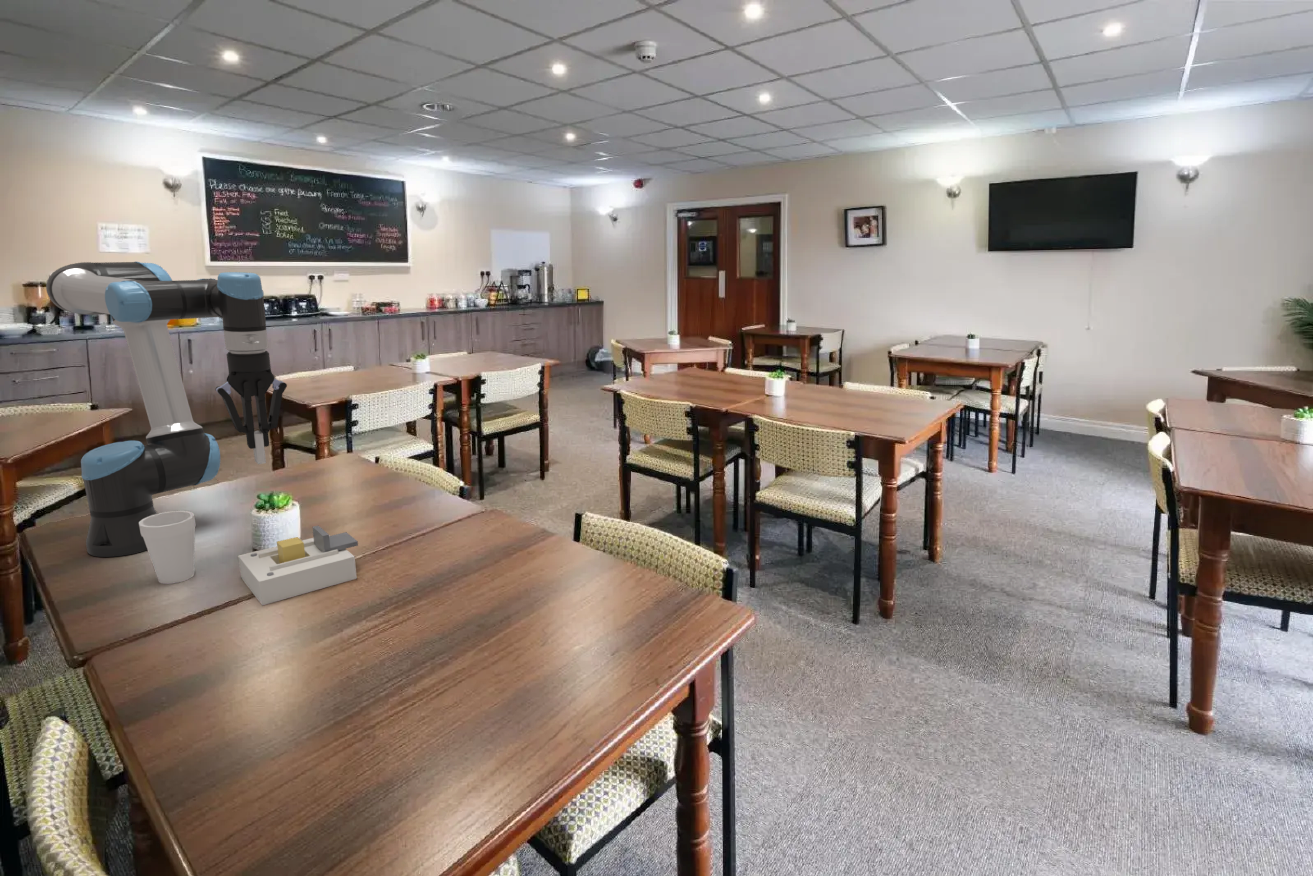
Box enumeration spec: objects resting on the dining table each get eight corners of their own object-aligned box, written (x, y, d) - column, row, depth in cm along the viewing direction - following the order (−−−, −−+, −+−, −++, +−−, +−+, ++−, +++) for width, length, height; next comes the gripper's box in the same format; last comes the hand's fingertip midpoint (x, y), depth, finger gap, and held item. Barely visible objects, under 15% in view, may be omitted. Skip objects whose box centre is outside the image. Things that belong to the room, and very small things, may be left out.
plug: (281, 577, 147) (276, 541, 145) (301, 572, 150) (297, 536, 148) (287, 583, 144) (282, 547, 142) (307, 578, 147) (303, 542, 145)
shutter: (314, 544, 152) (312, 526, 151) (346, 536, 157) (344, 519, 156) (325, 553, 148) (323, 536, 147) (358, 545, 152) (356, 528, 151)
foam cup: (176, 589, 142) (165, 529, 139) (137, 584, 144) (126, 525, 141) (213, 569, 151) (204, 512, 148) (177, 565, 153) (167, 509, 150)
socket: (241, 577, 148) (237, 552, 147) (330, 554, 160) (327, 530, 158) (262, 605, 137) (258, 577, 135) (356, 578, 148) (354, 553, 147)
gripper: (214, 355, 136) (229, 472, 142) (288, 351, 144) (299, 461, 151) (206, 350, 141) (220, 463, 147) (277, 346, 150) (288, 452, 156)
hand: (260, 462), depth 149 cm, fingers closed
